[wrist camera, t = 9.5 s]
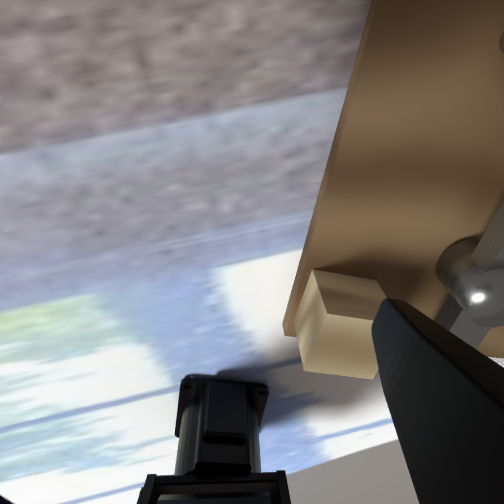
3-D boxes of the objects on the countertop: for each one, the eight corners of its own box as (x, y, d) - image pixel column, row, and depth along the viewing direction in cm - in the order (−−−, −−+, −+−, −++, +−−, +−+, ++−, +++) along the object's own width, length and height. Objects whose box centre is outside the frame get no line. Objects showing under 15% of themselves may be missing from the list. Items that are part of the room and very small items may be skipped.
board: (522, 348, 28) (557, 387, 25) (282, 323, 25) (289, 362, 22) (779, -11, 17) (899, -20, 14) (403, -110, 15) (447, -147, 12)
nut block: (353, 330, 24) (372, 379, 21) (293, 321, 24) (304, 371, 20) (376, 280, 22) (402, 325, 19) (312, 269, 22) (327, 313, 18)
